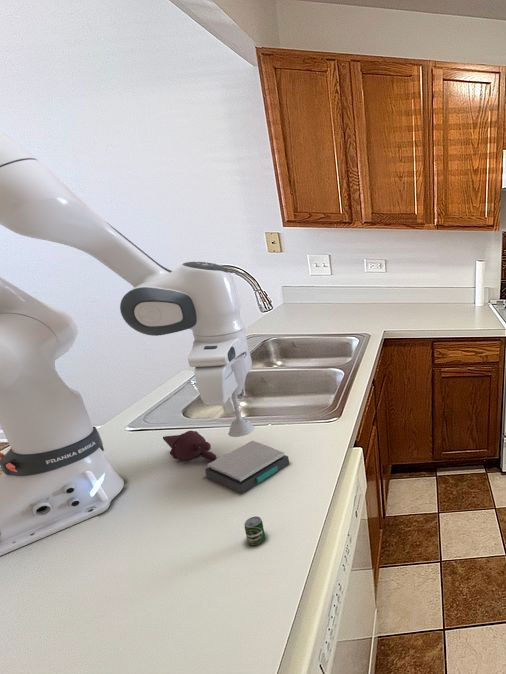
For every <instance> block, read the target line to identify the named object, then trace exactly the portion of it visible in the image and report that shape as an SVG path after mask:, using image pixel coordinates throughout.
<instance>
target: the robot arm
mask: <svg viewBox="0 0 506 674" xmlns="http://www.w3.org/2000/svg"><path fill="white" fill-rule="evenodd" d="M0 226H2V227H4V228H6V229H8V230H10V231H11V232H13V233H15V234H18V235H20V236H23V237H26V238H31V239H36V240H41V241H46V242H52V243H55V244H60V245H64V246H68V247H71V248H73V249H77V250H79V251H81V252H83V253H86V254H88V255H90V257H92V258H94V259H96V260H97V261H98V262H100V263H101V264H103V266H104V267H107V268H108V269H109V270H111V271H112V272H113V273H115V274H116V275H117V276H119V277H120V278H121V279H123V280H124V281H125V282H126V283H128V284H130V285H131V286H132V287H133V288H132V289H130V290H129V291H128V292H127V293H125V294H124V295H123V296H122V298H121V301H120V304H119V310H120V314H121V317H122V319H123V320H124V322H125V323H126V324H127V325H128V326H129V327H130V328H131V329H133V330H134V331H136V332H138V333H140V334H143V335H146V336H151V337H152V336H153V337H156V336H157V337H158V336H164V335H170V334H175V333H178V332H179V333H180V332H183V331H186V330H190V331H191V332H192V335H193V343H192V347H191V350H190V353H189V355H188V357H187V362H188V366H189V367H190V368H194V371H193V375H194V379H195V383H196V387H197V391H198V394H199V396H200V399H201V402H202V403H204V404H205V405H206V406H216V405H221V406H222V408H223V412H224V413H225V414H234V413H233V412H234V410H235V409H236V406H235V402H233V401H232V393H233V392H234V391H235V389H236V388H237V387H238V384H237V382H236V379H235V375H234V371H232V369H231V365H232V364H233V363H234V362H236V361H238V360H240V359H237V360H234V359H235V358H236V357H239V356H242V355H243V353H244V352H245V354H244V357H243V358H244V363H245V368H246V373H247V374H246V376H247V375H248V373H250V371H251V369H252V368H253V359H252V357H251V352H250V349H249V344H248V340H247V338H248V337H247V333H246V329H245V324H244V322H243V320H242V318H241V303H240V298H239V294H238V290H237V286H236V283H235V280H234V278H233V275H232V274H231V272H230V271H229V269H227V268H226V267H224V266H223V265H220V264H217V263H212V262H207V261H206V262H205V261H186V262H183V263H181V264H180V266H179V267H177V268H176V269H174V270H171V269H168V268H167V267H165V266H163V265H162V264H160V263H159V262H157V261H156V260H155V259H154V258H152V257H151V256H150V255H149V254H147V253H146V252H145V251H144V250H142V249H141V248H140V247H138V246H137V245H136V244H135V243H134V242H132V241H131V240H130V239H129V238H128V237H126V236H125V235H124V234H122V233H121V232H120V231H119V230H117V229H116V228H115V227H114V226H112V225H111V224H110V223H108V222H107V221H106V220H105V219H103V218H102V217H101V216H100V215H99V214H98V213H97V212H96V211H95V210H94V209H92V208H91V207H90V206H89V205H88V204H87V203H85V202H84V201H83V200H82V199H81V198H80V196H78V195H77V194H76V193H75V192H73V190H72V189H70V188H69V186H68V185H66V184H65V183H64V182H63V181H62V180H61V179H60V178H58V176H57V175H55V174H54V173H53V172H52V171H51V170H50V169H49V168H48V167H46V166H45V164H43V163H42V162H41V161H40V160H39V159H37V158H36V157H35V156H34V155H33V154H31V152H29V150H27V149H26V148H24V147H23V146H22V145H20V144H19V142H17V141H16V140H14V139H13V138H12V137H11V136H9V135H8V134H6V133H5V132H3V130H1V129H0ZM78 331H79V329H78V325H77V322H76V321H75V319H74V318H73V317H72V316H71V315H70V314H69V313H68V312H66V311H65V310H63V309H61V308H59V307H57V306H53V305H50V304H47V303H45V302H43V301H40V300H39V299H37V298H36V297H34V296H33V295H31V294H29V293H28V292H26V291H24V290H23V289H21V288H19V287H18V286H16V285H14V284H13V283H11V282H10V281H8V280H7V279H5V278H3V277H2V276H0V428H1V430H2V432H3V435H4V436H5V439H6V440H7V443H8V445H9V447H10V449H9V450H8V451H7V452H6V453H5V454H4V453H3V452H0V469H1V471H2V473H1V474H0V557H1V556H3V555H6V554H9V553H10V552H12V551H15V550H18V549H20V548H23V547H24V546H25V547H26V546H27V545H29V544H32V543H34V542H36V541H39V540H41V539H44V538H46V537H48V536H51V535H53V534H55V533H58V532H61V531H62V530H65V529H67V528H70V527H72V526H74V525H77V524H80V523H82V522H84V521H86V520H88V519H90V518H93V517H96V516H98V515H100V514H103V513H105V512H106V511H107V510H108V509H109V507H110V505H111V503H112V501H113V500H114V499H115V498H116V497H117V496H118V495H119V494H120V492H122V490H123V489H124V487H125V480H124V479H123V478H122V477H121V476H120V475H119V474H118V473H117V471H116V470H115V469H114V468H113V466H112V464H111V463H110V461H109V460H108V458H107V456H106V454H105V452H104V451H105V448H104V443H103V440H102V437H101V434H100V432H99V431H98V429H97V427H96V426H93V423H92V421H91V418H90V416H89V412H88V410H87V407H86V405H85V402H84V398H83V396H82V395H81V393H80V392H79V391H78V390H76V389H74V388H71V387H69V386H68V385H67V383H66V382H65V381H64V380H63V379H62V377H61V376H60V375H59V373H58V371H57V369H56V361H58V359H59V358H61V357H62V356H64V355H66V354H67V353H68V352H69V351H70V350H71V349H72V348H73V345H74V343H75V341H76V339H77V336H78ZM241 359H242V358H241ZM245 383H246V382H245ZM245 383H244V386H243V389H242V392H241V393H240V394H239V395H237V399H238V400H240V399H243V398H245V396H246V390H245V385H246V384H245Z"/></svg>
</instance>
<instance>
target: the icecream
mask: <svg viewBox="0 0 506 674" xmlns="http://www.w3.org/2000/svg"><path fill="white" fill-rule="evenodd" d="M162 440H163V441H164V442H165V443H166V444H167V446H169V448H171V449H170V451H169V455H170V456H172V459H176V460H180V461H182V460H184V461H189V460H194V459H198V458H199V457H200V456H201V457H202V458H203V459H205V460H207V461H210V462H213V461H214V460H216V459H217V455H216V454H215V453H213V452H212V451H210V450H211V448H212V446H211V443H210V442H208V441H206V438H205V437H204V436H202V435H201V434H200V433H199V432H198V431H196V430H188V431H186V432H184V433H180V434H175V435H165V436H162Z"/></svg>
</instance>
